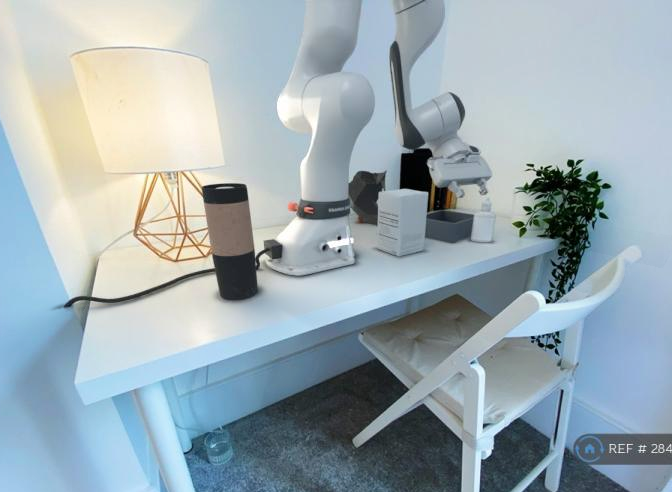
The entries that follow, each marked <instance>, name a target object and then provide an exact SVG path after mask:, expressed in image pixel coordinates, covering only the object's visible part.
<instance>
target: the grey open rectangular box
mask: <svg viewBox="0 0 672 492" xmlns="http://www.w3.org/2000/svg"><path fill="white" fill-rule="evenodd" d="M473 218H474V214H473V213H468V212H467V213H466V212H460V211H452V210H446V209H440V210H436V211H432V212H429V213H428V212H427V216H426V228H425V238H428V239H432V240H437V241H442V242H446V243H450V244H454V243H456V242H459V241H461V240H464V239H467V238H471V231H472V225H473Z"/></svg>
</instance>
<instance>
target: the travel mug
mask: <svg viewBox="0 0 672 492" xmlns="http://www.w3.org/2000/svg"><path fill="white" fill-rule="evenodd" d="M201 193H202V200H203V206H204V207H203V208H204V213H205V220H206V226H207V232H208V238H209V247H210V251H211V256H212V263H213V268H215V272H214V273H215V277H216V282H217V287H218V292H219V296H220V297H221V298H222V299H224V300H228V301H240V300H246V299H249V298H252V297H253V296H255V295H256V294H257V293H258V289H259V288H258V287H259V286H258V275H257V274H258V273H257V270H256V265H257V264H256V260H255V258H256V251H255V250H256V249H255V240H254V233H253V225H252V217H251V209H250V208H251V207H250V199H249V192H248V187H247V184H245V183H237V182H226V183H211V184H206V185H205V184H204V185H202V186H201Z"/></svg>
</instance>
